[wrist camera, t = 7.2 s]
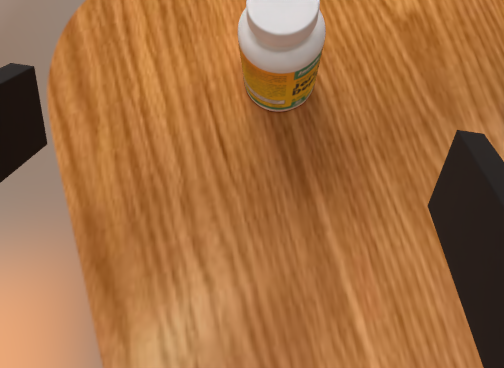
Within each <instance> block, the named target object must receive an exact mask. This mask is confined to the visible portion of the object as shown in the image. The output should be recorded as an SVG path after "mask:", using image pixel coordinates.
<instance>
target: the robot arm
mask: <svg viewBox="0 0 504 368" xmlns="http://www.w3.org/2000/svg"><path fill="white" fill-rule="evenodd" d="M46 145H47V139H46V133H45V127H44V121H43V116H42V110H41V104H40V99H39V92H38V86H37V81H36V75H35V69H34V66H28V65H20V64H14V63H10V64H8V65H6V66H4V67H2V68H0V182H2V181H3V180H4V179H5V178H7V177H8V176H9V175H10V174H11V173H13V172H14V171H15V170H16V169H18V168H19V167H20V166H21V165H22V164H23V163H25V162H26V161H27V160H29V159H30V158H31V157H32V156H33V155H35V154H36V153H37V152H38V151H39V150H41V149H42V148H43V147H44V146H46ZM428 208H429V211H430V214H431V217H432V220H433V223H434V226H435V228H436V231H437V234H438V237H439V240H440V243H441V246H442V249H443V252H444V254H445V257H446V260H447V263H448V266H449V269H450V272H451V275H452V278H453V280H454V283H455V286H456V289H457V292H458V295H459V298H460V301H461V304H462V306H463V309H464V312H465V315H466V318H467V321H468V324H469V327H470V329H471V332H472V335H473V338H474V341H475V344H476V347H477V350H478V353H479V355H480V358H481V361H482V364H483V367H484V368H504V161H503V160H502V159H501V157H500V156H499V154H498V153H497V152H496V150H495V149H494V148H493V146H492V145H491V143H490V142H489V141H488V139H487V138H486V136H485V135H484V134H481V133H474V132H467V131H461V130H457V132H456V134H455V137H454V140H453V142H452V145H451V147H450V150H449V152H448V155H447V158H446V160H445V163H444V165H443V168H442V170H441V173H440V176H439V178H438V181H437V183H436V186H435V188H434V191H433V194H432V196H431V199H430V201H429V204H428Z"/></svg>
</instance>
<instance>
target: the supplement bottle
mask: <svg viewBox="0 0 504 368" xmlns="http://www.w3.org/2000/svg"><path fill="white" fill-rule="evenodd" d="M319 5H320V3H319V0H247V1H246V8H245V10H244V11H243V13H242V15H241V18H240V21H239V25H238V42H239V49H240V56H241V63H242V71H243V79H244V84H245V88H246V90H247V93H248V94H249V96H250V98H251V99H252V100H253V101H254V102H255V103H256V104H257V105H259V106H260V107H262V108H264V109H267V110H270V111H279V112H280V111H287V110H291V109H293V108H296V107H298V106H300V105H301V104H303V103H304V102H305V101H306V100H307V98H308V97H309V96H310V94H311V92H312V90H313V87H314V84H315V80H316V75H317V71H318V67H319V63H320V58H321V54H322V50H323V45H324V41H325V32H326V30H325V22H324V19H323V16H322V14H321V12H320V10H319Z"/></svg>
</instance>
